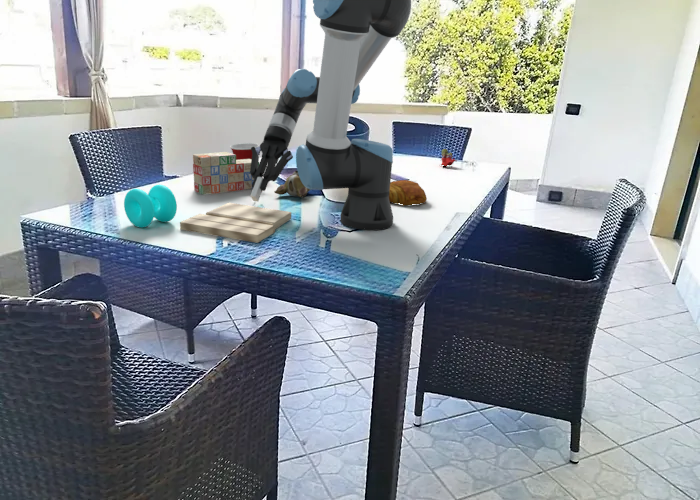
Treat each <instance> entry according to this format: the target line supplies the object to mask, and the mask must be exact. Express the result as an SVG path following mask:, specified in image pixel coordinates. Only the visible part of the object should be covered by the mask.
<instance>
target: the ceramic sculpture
mask: <svg viewBox="0 0 700 500" xmlns="http://www.w3.org/2000/svg"><path fill="white" fill-rule="evenodd" d="M310 191H311V189H308V188H306V187H305V186H304V185H303V184H302V182H301V180H300V177H299V174H298V170H295V171H293V172H292V174H290V175H289V176H287V177H286V179H285V182H284V184H280V185H279V186H277V188H276V190H274V194H275V195H276V194H277V195H281V196H284V195H285V194H287V195H289V196H291V197H299V198H305V197H306V196H307V194H308V193H309V192H310Z"/></svg>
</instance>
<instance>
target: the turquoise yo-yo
mask: <svg viewBox="0 0 700 500" xmlns="http://www.w3.org/2000/svg"><path fill="white" fill-rule="evenodd" d="M177 203H178V202H177V200H176V196H175V194H174V193H173V191H172V190H171V189H170V188H169V187H168V186H166V185H163V184H156V185H153V186H152V187H151V188H150V190H149V191H148V193H147V192H146V191H145V190H144V189H143V190H142V189H140V188H132V189H130V190H128V192H126V194H125V197H124V200H123V207H124V211H125V215H126V218H127V219H128V220H129V222H130V223H131V224H132V225H133V226H135V227H137V228H141V229H143V228H146V227H148V226H150V225H151V223H152V222H153V220H154V218H155V220H157V221H159V222H162V223H168V222H171V221H172V220H173V219H174V218H175V217H176V214H177V210H178V208H177V207H178V205H177Z"/></svg>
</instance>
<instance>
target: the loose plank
mask: <svg viewBox="0 0 700 500" xmlns="http://www.w3.org/2000/svg"><path fill="white" fill-rule="evenodd" d="M205 215H211V216H217V217H223V218H229V219H236V220H242V221H248V222H254V223H261V224H267V225H273V226H274V229H275V230H276V229H278V228H279V227H281V226H282V225H284V224H286V223H287V222H288V221H289V222H290V221H291V220H292V211H286V210H280V209H274V208H273V209H272V208H268V207H267V208H266V207H261V206H255V205H254V206H253V205H248V204H240V203H233V202H227V203H225V204H222V205H221V206H218V207H216V208H214V209H211V210H209V211H206V213H205Z"/></svg>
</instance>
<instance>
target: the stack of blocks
mask: <svg viewBox="0 0 700 500" xmlns="http://www.w3.org/2000/svg"><path fill="white" fill-rule="evenodd" d="M192 159H193V164H192V171H193V172H192V173H193V187H194V188H193V189H194V191H195V192H197V193H198V194H201V195H203V196H204V195H210V194H218V193H219V194H220V193H229V192H235V191H243V190H253V188H252V184H253V181H254V179H253V177H252V176H251V174H250V168H251V160H252V159H241V160H236V155H235V154H233V152H232V153H231V152H229V151H221V152H219V151H218V152H217V151H216V152H208V153H193V154H192ZM259 163H260V161H258V166H259Z"/></svg>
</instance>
